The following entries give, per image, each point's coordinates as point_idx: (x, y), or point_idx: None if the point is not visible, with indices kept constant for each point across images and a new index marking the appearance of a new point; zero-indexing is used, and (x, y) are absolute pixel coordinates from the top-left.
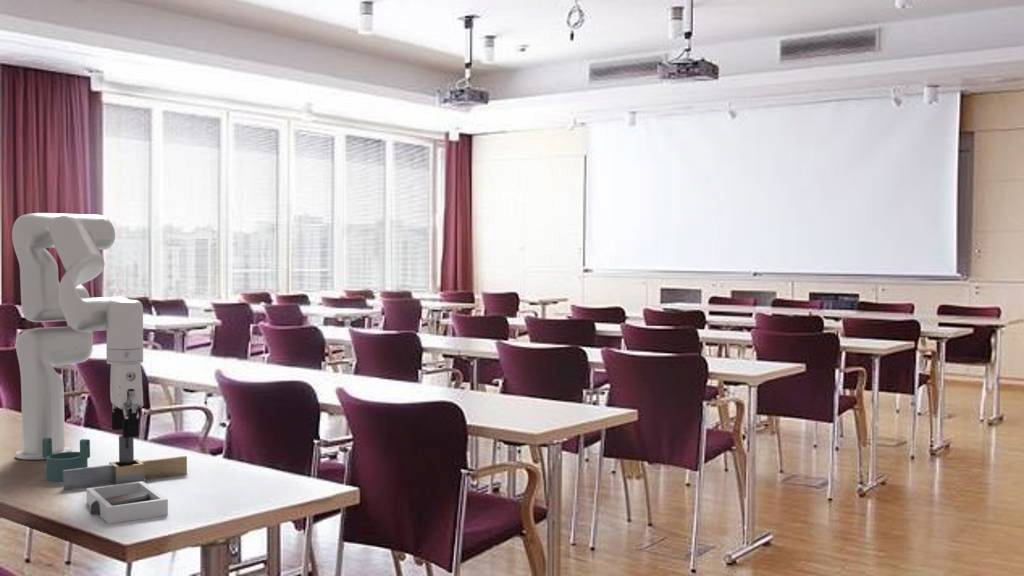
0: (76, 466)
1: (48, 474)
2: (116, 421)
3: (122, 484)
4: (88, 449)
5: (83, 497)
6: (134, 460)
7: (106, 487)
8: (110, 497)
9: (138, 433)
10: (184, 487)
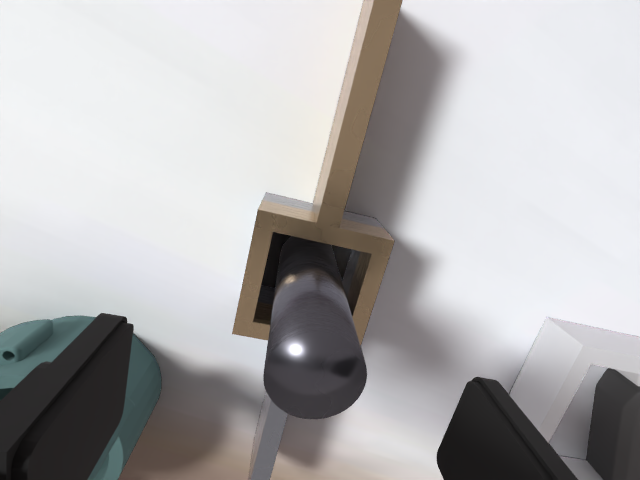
0: (138, 410)
1: None
2: (89, 455)
3: (560, 410)
4: None
5: (409, 437)
6: (273, 231)
7: None
8: (630, 473)
9: (505, 393)
10: (581, 157)
